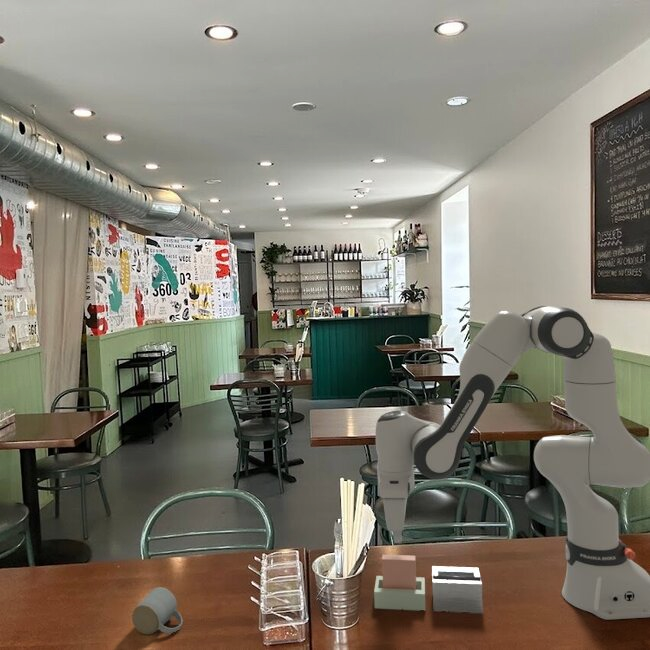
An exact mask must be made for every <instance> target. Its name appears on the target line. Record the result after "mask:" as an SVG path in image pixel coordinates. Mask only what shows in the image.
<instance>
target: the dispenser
mask: <svg viewBox="0 0 650 650" xmlns="http://www.w3.org/2000/svg"><path fill="white" fill-rule="evenodd" d="M431 576H432V577H431V578H432V581H431V582H432V602H433V603H432V605H433V612H441V611H446V613H448V611H449V613H462V612H470V613H469V614H483V613H484V612H483V608H484V607H483V582H482V578H481V573H480V570H479V567H467V566H439V565H438V566H436V565H432V566H431Z"/></svg>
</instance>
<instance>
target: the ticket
mask: <svg viewBox="0 0 650 650" xmlns="http://www.w3.org/2000/svg"><path fill="white" fill-rule="evenodd" d="M416 564H417V563H416V555H409V554H406V555H404V554H402V555H401V554H382V557H381V568H382V572H381V574H382V576H383V588H388V589H412V590H417V588H416V577H417V567H416V566H417V565H416Z"/></svg>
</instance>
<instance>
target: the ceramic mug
mask: <svg viewBox="0 0 650 650" xmlns="http://www.w3.org/2000/svg"><path fill="white" fill-rule="evenodd" d="M177 609H178V602H177V599H176V597H175V595H174V594H173V593H172V591H170V590H169V589H167V588H166V587H162V586H157V587H154V588H152V590H151V591H150V592H149V593H148V594H147V595H146V596H145V597H144V598H143V599H142V600H141V601H140V602H139V603H138V604H137V605H136V606H135V608H134V610H133V612H132V615H131V616H132V617H131V618H132V619H131V621H132V624H133V626H134V627H135V629H136V630H137V631H138V632H139V633H140V634H143V635H152V634H154V633H156V632H157V631H160V632H161V633H164V634H168V635H171V634H170V633H173V632H175V631H177V630H180V629H181V628H182V626H183V622H184V621H183V616H182V615H181V614H180V612H179V611H178V610H177ZM173 617H174V618H175V619H176V620H177V621H178V623H179V624H178V626H176V627H167V626H165V625H164V624H166V623H167V622H168V621H170V620H171V618H173ZM177 632H178V631H177ZM173 634H174V633H173Z"/></svg>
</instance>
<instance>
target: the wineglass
mask: <svg viewBox="0 0 650 650" xmlns="http://www.w3.org/2000/svg"><path fill="white" fill-rule="evenodd" d="M342 518H343V517H339V518H336V519H335V521H334V527H333V528H334V529H333V535H334V538H335V540H336V538H337V536H338V535H340V534H342Z"/></svg>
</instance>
